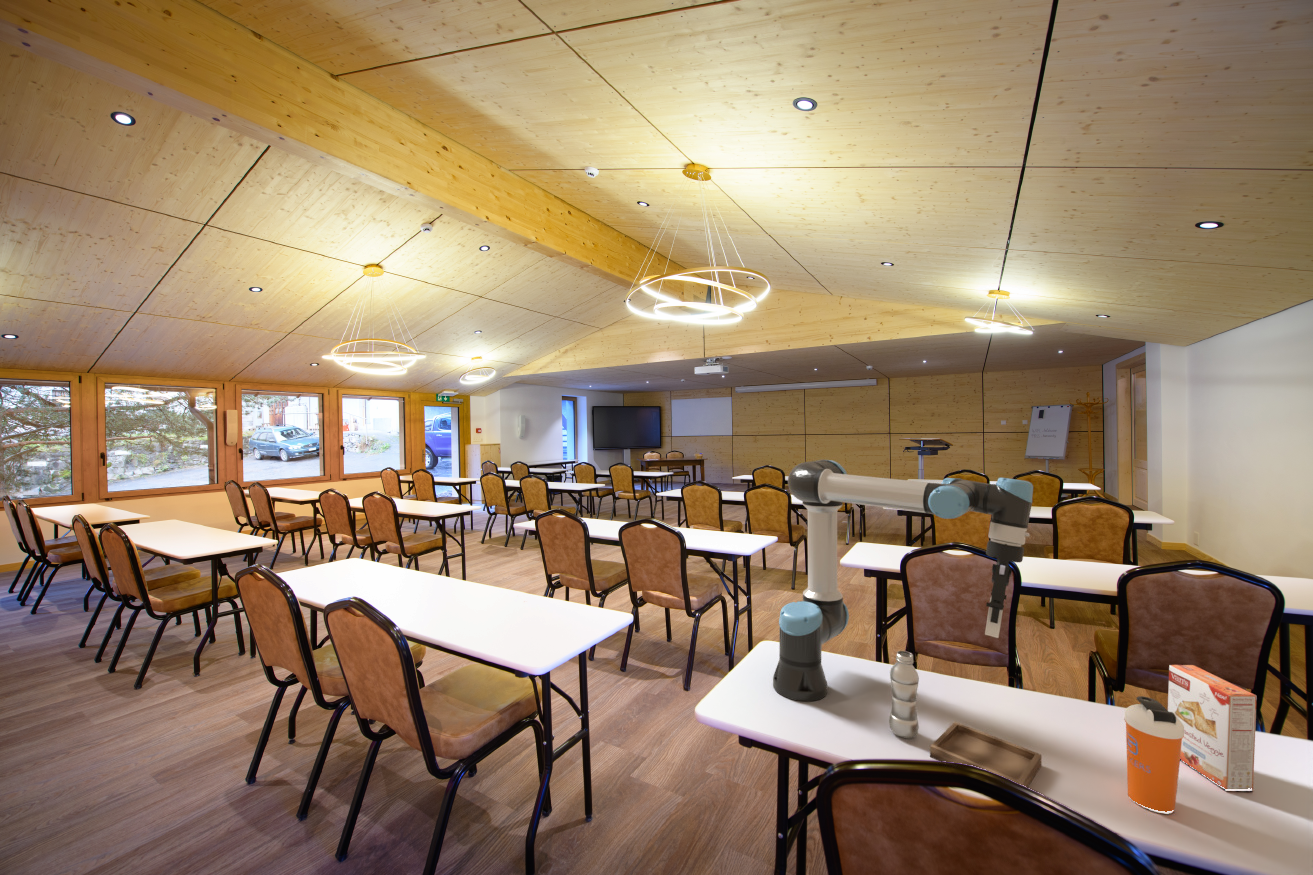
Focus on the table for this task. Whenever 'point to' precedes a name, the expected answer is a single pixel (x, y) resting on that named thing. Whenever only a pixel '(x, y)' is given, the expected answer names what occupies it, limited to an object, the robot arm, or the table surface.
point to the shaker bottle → (1153, 754)
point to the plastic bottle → (904, 696)
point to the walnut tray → (986, 753)
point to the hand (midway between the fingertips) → (992, 629)
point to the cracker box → (1214, 725)
